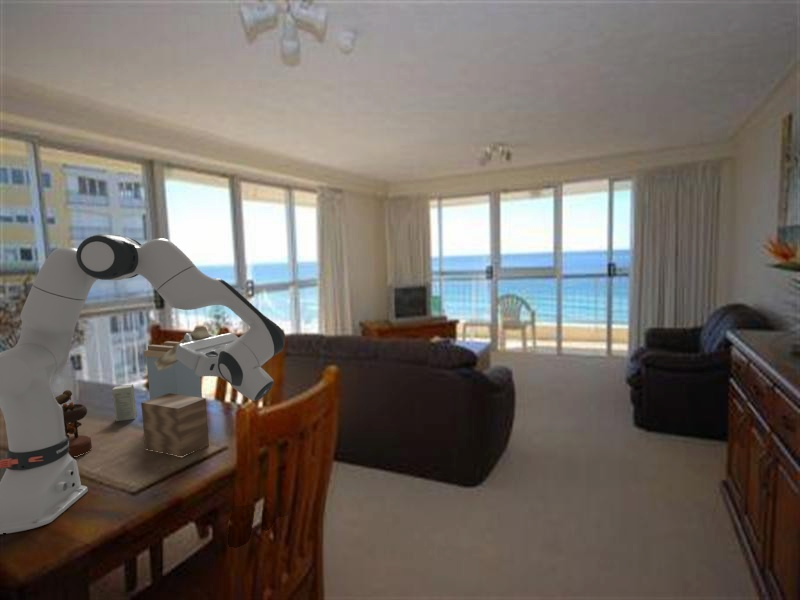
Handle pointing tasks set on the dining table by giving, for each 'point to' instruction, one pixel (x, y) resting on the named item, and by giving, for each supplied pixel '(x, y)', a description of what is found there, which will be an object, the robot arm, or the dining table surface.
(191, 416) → the brown wood grain block
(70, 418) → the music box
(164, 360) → the light wood bar
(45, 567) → the dining table surface
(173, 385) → the chest
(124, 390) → the skincare box
